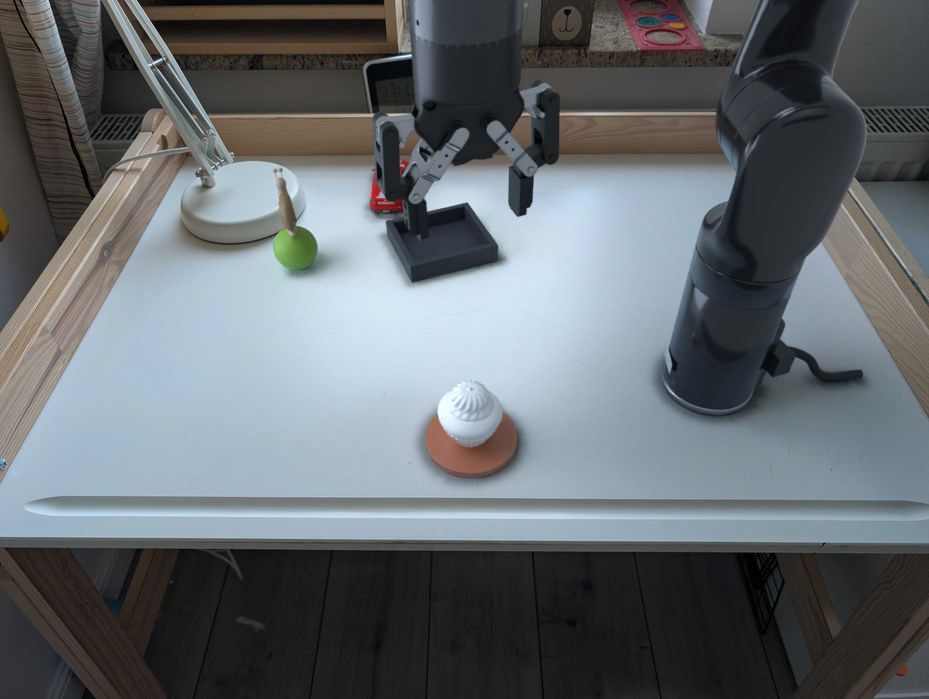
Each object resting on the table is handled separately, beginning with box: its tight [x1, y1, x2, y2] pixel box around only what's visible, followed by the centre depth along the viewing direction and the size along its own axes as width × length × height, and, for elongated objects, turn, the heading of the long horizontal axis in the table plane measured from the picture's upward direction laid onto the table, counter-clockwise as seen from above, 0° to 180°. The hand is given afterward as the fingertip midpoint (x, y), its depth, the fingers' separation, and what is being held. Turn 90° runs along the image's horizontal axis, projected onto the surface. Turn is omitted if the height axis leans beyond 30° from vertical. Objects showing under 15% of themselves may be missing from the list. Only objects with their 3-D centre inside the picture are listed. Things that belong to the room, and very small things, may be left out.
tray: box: [385, 202, 499, 283], centre depth 93 cm, size 12×11×2 cm
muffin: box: [437, 379, 504, 448], centre depth 68 cm, size 6×6×7 cm
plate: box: [425, 410, 518, 479], centre depth 71 cm, size 9×9×1 cm
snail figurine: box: [272, 167, 319, 271], centre depth 88 cm, size 5×6×12 cm
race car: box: [369, 158, 410, 216], centre depth 102 cm, size 13×5×4 cm, turn 178°
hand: (470, 223), depth 59 cm, fingers open, 8 cm apart
